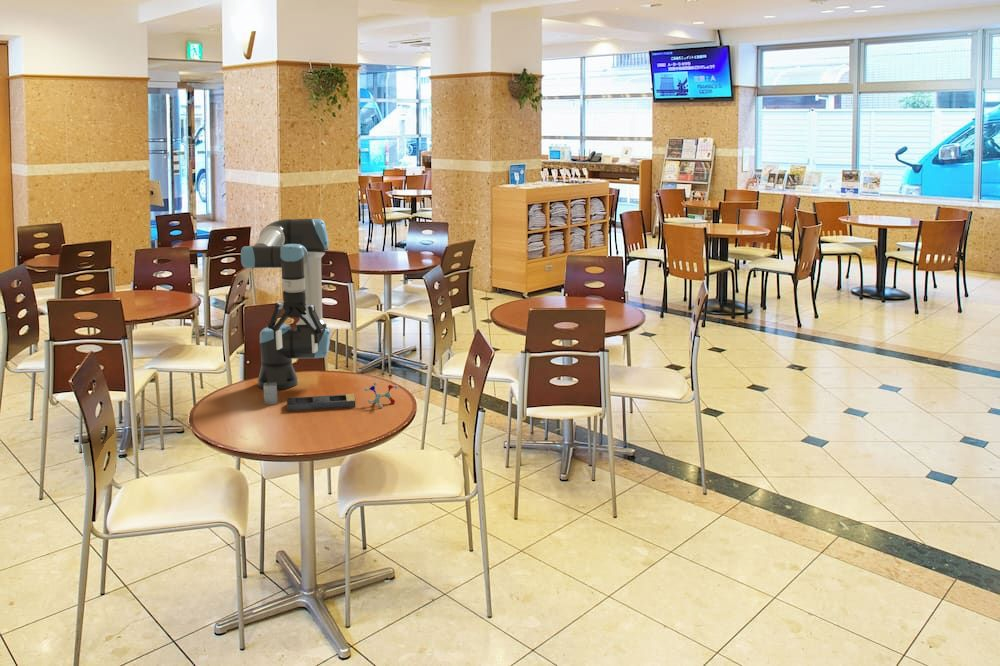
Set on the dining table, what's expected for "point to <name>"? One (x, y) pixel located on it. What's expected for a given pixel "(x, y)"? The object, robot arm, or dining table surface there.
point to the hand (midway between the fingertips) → (297, 350)
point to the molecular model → (380, 394)
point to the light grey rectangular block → (270, 393)
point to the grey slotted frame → (320, 402)
